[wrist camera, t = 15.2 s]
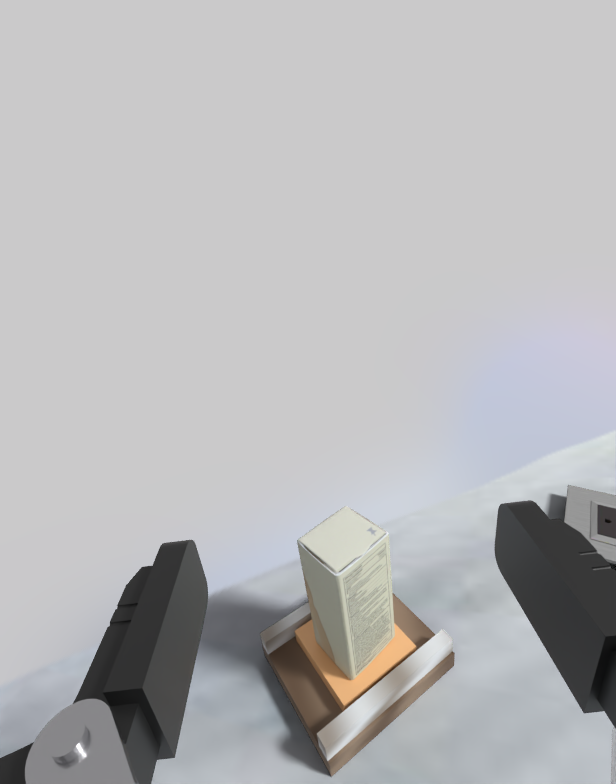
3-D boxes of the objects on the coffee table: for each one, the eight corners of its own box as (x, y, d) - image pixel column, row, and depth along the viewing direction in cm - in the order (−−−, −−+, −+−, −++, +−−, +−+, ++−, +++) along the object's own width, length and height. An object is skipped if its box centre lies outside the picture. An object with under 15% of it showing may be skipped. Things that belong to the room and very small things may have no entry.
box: (358, 602, 35) (349, 501, 30) (397, 637, 32) (393, 530, 27) (312, 643, 32) (294, 538, 28) (349, 686, 29) (336, 575, 24)
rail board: (331, 776, 27) (327, 751, 25) (264, 654, 35) (258, 631, 33) (453, 665, 32) (455, 640, 31) (371, 582, 40) (369, 560, 39)
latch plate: (345, 715, 28) (343, 705, 28) (296, 640, 34) (294, 630, 33) (416, 655, 31) (416, 646, 31) (361, 595, 37) (360, 586, 36)
